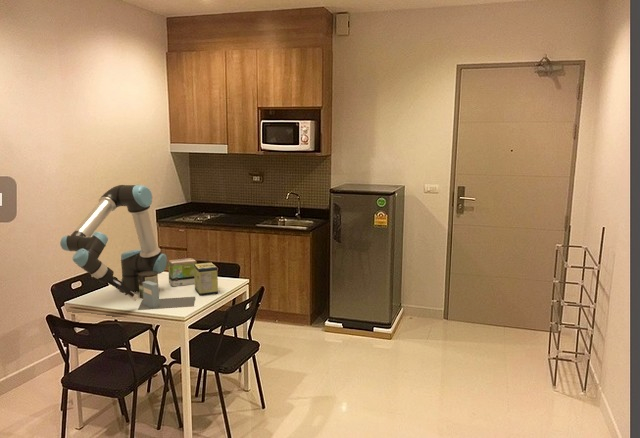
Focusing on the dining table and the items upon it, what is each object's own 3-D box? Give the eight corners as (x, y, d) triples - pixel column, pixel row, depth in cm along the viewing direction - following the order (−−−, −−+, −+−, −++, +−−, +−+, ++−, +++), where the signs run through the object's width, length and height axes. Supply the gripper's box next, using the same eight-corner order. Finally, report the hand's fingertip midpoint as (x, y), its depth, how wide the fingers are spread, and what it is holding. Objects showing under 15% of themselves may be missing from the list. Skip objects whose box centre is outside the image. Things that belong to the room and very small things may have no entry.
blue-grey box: (153, 308, 258) (152, 285, 256) (143, 304, 265) (142, 282, 263) (159, 306, 261) (158, 284, 259) (149, 302, 267) (148, 280, 266)
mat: (142, 300, 272) (142, 299, 272) (195, 297, 278) (195, 296, 278) (137, 311, 255) (137, 310, 255) (194, 307, 261) (194, 306, 260)
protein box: (212, 287, 299) (211, 261, 297) (218, 294, 285) (217, 267, 283) (194, 289, 295) (193, 263, 293) (200, 296, 281) (199, 269, 279)
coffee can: (136, 300, 274) (135, 275, 272) (143, 294, 284) (142, 270, 282) (155, 300, 273) (153, 275, 271) (161, 294, 283) (160, 270, 282)
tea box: (172, 287, 299) (171, 263, 297) (168, 283, 308) (167, 260, 306) (197, 283, 307) (196, 260, 305) (192, 280, 315) (192, 257, 313)
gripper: (91, 276, 244) (125, 302, 259) (103, 281, 235) (138, 307, 250) (101, 264, 247) (135, 290, 262) (113, 268, 239) (147, 295, 253)
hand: (136, 298), depth 256 cm, fingers closed
